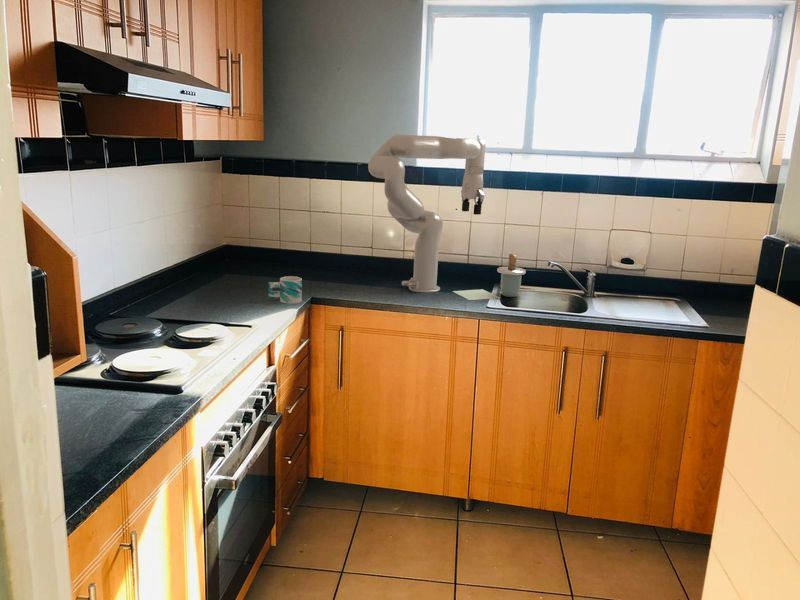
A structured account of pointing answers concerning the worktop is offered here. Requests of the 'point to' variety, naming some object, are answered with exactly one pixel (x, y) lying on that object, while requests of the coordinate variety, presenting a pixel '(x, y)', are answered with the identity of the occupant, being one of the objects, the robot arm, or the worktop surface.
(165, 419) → the worktop surface
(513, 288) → the cup
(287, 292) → the mug
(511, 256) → the lid
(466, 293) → the mat
